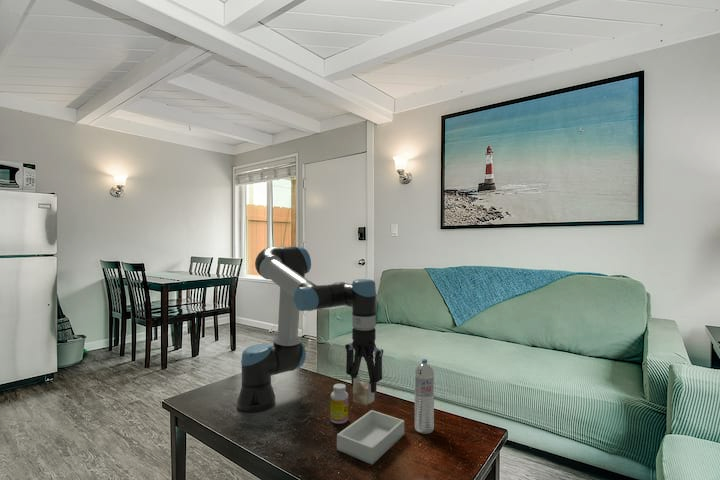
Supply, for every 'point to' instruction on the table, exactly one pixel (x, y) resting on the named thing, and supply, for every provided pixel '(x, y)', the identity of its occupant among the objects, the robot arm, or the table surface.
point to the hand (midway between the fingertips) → (363, 399)
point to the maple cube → (360, 393)
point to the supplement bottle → (339, 404)
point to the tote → (370, 436)
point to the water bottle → (424, 398)
